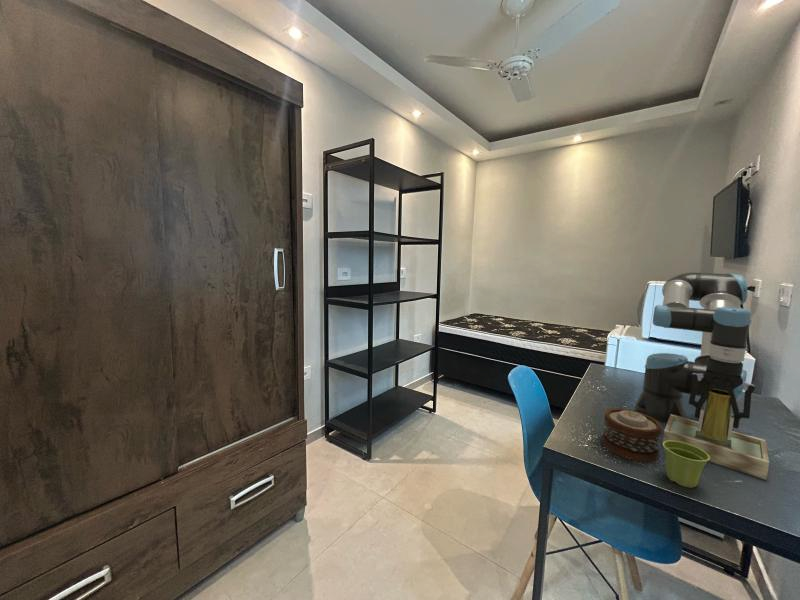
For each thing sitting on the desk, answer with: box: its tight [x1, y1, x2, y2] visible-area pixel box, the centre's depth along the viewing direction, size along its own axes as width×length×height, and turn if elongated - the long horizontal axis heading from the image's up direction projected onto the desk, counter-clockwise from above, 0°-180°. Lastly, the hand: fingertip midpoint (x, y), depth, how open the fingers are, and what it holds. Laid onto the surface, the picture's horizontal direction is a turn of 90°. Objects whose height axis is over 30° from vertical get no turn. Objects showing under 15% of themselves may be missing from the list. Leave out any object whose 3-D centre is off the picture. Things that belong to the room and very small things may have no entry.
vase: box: [700, 389, 732, 442], centre depth 99 cm, size 6×6×14 cm
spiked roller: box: [602, 408, 663, 463], centre depth 101 cm, size 15×11×15 cm
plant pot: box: [661, 440, 710, 489], centre depth 86 cm, size 9×9×9 cm
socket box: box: [661, 414, 770, 481], centre depth 100 cm, size 22×16×5 cm
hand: (714, 432), depth 100 cm, fingers closed on vase, 6 cm apart
